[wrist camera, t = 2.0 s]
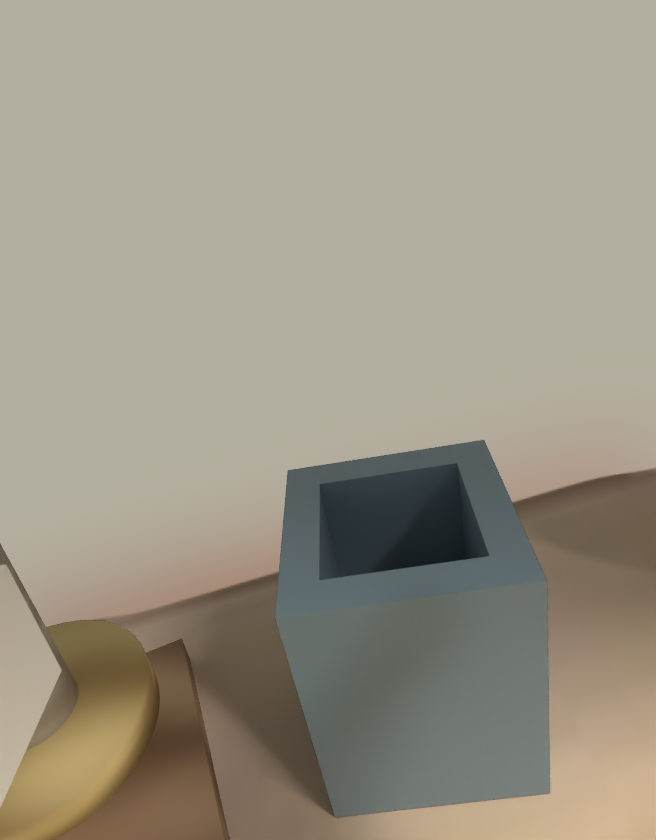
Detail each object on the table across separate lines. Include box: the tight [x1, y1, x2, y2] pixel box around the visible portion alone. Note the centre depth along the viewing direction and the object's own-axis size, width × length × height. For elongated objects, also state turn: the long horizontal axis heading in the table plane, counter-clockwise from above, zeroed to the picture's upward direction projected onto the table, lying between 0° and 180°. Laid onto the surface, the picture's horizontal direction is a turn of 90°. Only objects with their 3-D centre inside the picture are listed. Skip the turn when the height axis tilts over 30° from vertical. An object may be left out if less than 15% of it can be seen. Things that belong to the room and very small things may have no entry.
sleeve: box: [275, 440, 550, 817], centre depth 26 cm, size 8×8×11 cm
